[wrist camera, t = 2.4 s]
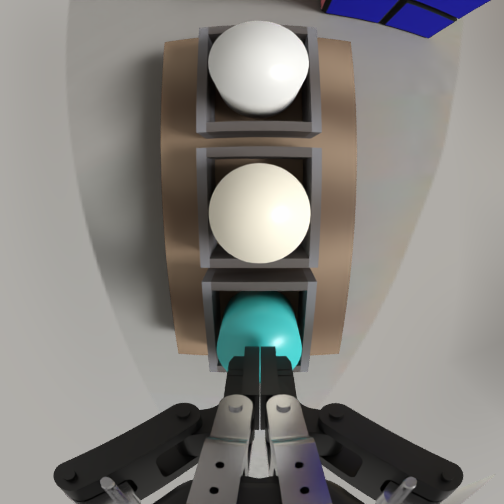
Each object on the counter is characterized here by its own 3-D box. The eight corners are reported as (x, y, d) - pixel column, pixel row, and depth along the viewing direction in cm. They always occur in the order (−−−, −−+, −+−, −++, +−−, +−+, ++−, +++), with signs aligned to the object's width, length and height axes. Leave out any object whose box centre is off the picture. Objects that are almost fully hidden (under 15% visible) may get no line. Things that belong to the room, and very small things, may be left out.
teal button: (222, 286, 17) (213, 314, 14) (296, 286, 17) (305, 314, 14) (225, 347, 18) (219, 382, 15) (292, 347, 18) (298, 381, 15)
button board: (176, 57, 17) (149, 23, 11) (339, 56, 17) (365, 23, 11) (186, 333, 23) (168, 378, 17) (330, 333, 23) (348, 378, 17)
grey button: (219, 49, 13) (209, 22, 10) (297, 49, 13) (306, 22, 10) (218, 119, 14) (207, 105, 11) (299, 119, 14) (310, 105, 11)
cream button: (218, 165, 15) (207, 164, 12) (299, 165, 15) (311, 164, 12) (220, 244, 16) (210, 263, 13) (298, 244, 16) (308, 263, 13)
